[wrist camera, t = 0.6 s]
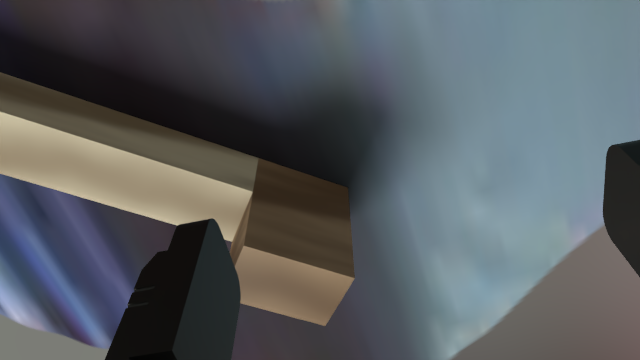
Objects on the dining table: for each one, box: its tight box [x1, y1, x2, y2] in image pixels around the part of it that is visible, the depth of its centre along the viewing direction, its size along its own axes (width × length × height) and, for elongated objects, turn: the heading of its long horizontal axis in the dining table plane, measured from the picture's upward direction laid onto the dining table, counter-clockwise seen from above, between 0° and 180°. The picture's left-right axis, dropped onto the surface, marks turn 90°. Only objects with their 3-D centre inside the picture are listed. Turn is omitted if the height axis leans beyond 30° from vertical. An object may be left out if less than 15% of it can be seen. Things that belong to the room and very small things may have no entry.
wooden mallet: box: [0, 72, 355, 326], centre depth 30 cm, size 4×24×8 cm, turn 68°
